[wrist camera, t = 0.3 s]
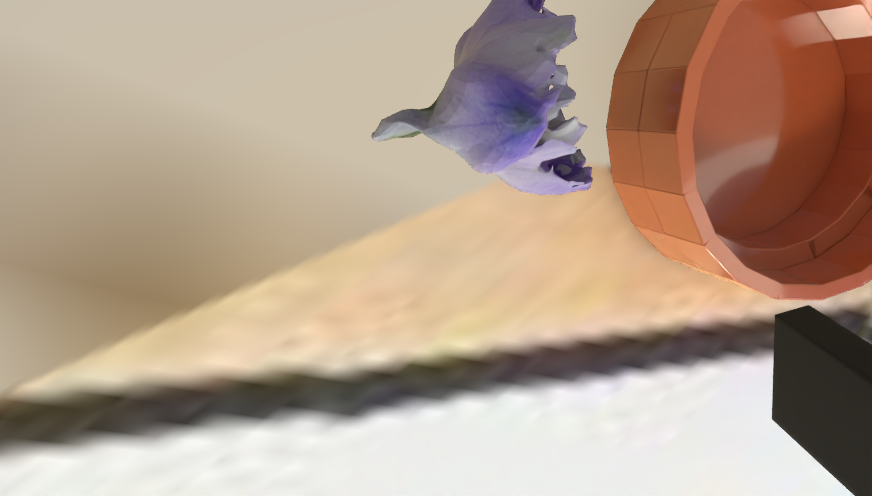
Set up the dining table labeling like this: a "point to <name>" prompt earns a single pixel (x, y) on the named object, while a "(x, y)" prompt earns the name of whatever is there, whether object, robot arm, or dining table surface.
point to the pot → (750, 140)
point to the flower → (507, 102)
